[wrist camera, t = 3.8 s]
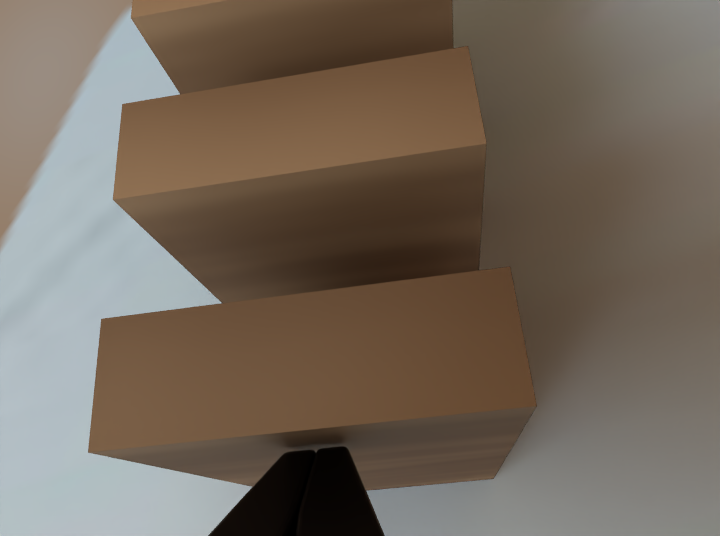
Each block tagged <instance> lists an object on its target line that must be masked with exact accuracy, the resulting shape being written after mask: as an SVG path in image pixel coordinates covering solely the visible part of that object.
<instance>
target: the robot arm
mask: <svg viewBox="0 0 720 536" xmlns="http://www.w3.org/2000/svg"><path fill="white" fill-rule="evenodd" d="M208 536H385V535H384V533H383V531H382V528H381V526H380V523H379V521H378V519H377V516H376V514H375V511H374V509H373V507H372V504H371V502H370V499H369V497H368V495H367V492H366V490H365V487H364V485H363V483H362V480H361V478H360V475H359V473H358V470H357V468H356V466H355V463H354V461H353V458H352V456H351V454H350V451H349V449H348V448H347V447H345V446H338V447H328V448H321V449H319V450H317V452H315V451H314V450H312V449H309V450H299V451H289V452H286V453H284V454H283V455H282V456H281V457H280V458H279V459H278V460H277V461H276V462H275V463H274V464H273V465H272V466H271V468H270V469H269V470H268V471H267V472H266V473H265V474H264V475H263V476H262V477H261V478H260V480H259V481H258V482H257V483H256V484H255V485H254V486H253V487H252V488H251V489H250V490H249V492H248V493H247V494H246V495H245V496H244V497H243V498H242V499H241V500H240V501H239V503H238V504H237V505H236V506H235V507H234V508H233V509H232V510H231V511H230V512H229V513H228V515H227V516H226V517H225V518H224V519H223V520H222V521H221V522H220V523H219V524H218V526H217V527H216V528H215V529H214V530H213V531H212V532H211V533H210V534H209V535H208Z"/></svg>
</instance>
